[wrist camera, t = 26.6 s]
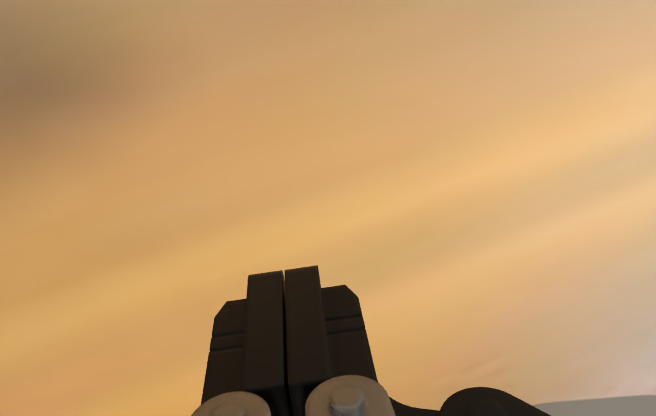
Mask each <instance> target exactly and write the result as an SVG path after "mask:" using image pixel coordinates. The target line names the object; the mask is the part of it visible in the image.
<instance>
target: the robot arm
mask: <svg viewBox="0 0 656 416" xmlns="http://www.w3.org/2000/svg"><path fill="white" fill-rule="evenodd" d="M191 416H550V415H548V414H547V413H545V412H543V411H541V410H539V409H537V408H535V407H533V406H531V405H530V404H528V403H526V402H524V401H522V400H520V399H518V398H516V397H514V396H512V395H511V394H508V393H506V392H504V391H501V390H498V389H494V388H488V387H473V388H468V389H464V390H461V391H458V392H456V393H454V394H453V395H451V396H450V397H449V398H448V399H447V400H446V401H445V402H444V404H443V405H442V407H441V410H440V411H438V410H429V409H420V408H414V407H410V406H406V405H403V404H401V403H399V402H397V401H395V400H393V399H392V398H390V397H389V396H388V394H387V392H386V390H385V389H384V388H383V387H382V386H381V385H380V384H379V383H378V380H377V377H376V373H375V368H374V364H373V360H372V355H371V351H370V347H369V342H368V338H367V334H366V330H365V325H364V321H363V316H362V312H361V308H360V303H359V299H358V297H357V296H356V295H355V294H354V293H353V292H352V291H351V290H350V289H349V288H348V287H347V286H346V285H340V286H333V287H326V288H321V285H320V278H319V271H318V265H317V266H310V267H303V268H296V269H289V270H285V280H284V275H283V271H282V270H281V271H274V272H267V273H260V274H253V275H249V276H248V286H247V299H241V300H234V301H227V302H226V303H225V304H224V306H223V307H222V308H221V310H220V311H219V312H218V314H217V315H216V316H215V318H214V324H213V331H212V338H211V343H210V352H209V356H208V362H207V369H206V375H205V382H204V388H203V394H202V401H201V406H199V407H198V408H197V409H196V410H195V411H194V413H193V414H192V415H191Z"/></svg>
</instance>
